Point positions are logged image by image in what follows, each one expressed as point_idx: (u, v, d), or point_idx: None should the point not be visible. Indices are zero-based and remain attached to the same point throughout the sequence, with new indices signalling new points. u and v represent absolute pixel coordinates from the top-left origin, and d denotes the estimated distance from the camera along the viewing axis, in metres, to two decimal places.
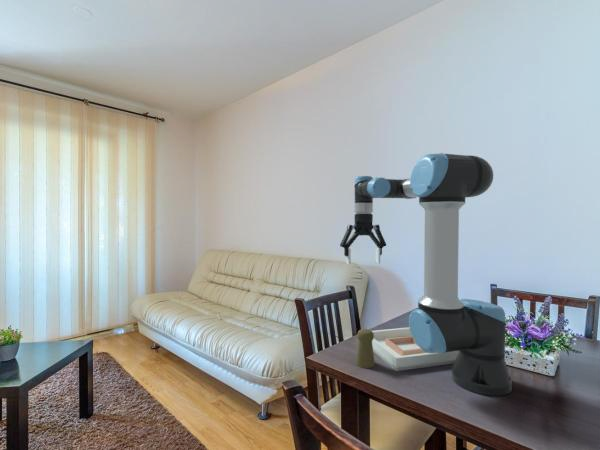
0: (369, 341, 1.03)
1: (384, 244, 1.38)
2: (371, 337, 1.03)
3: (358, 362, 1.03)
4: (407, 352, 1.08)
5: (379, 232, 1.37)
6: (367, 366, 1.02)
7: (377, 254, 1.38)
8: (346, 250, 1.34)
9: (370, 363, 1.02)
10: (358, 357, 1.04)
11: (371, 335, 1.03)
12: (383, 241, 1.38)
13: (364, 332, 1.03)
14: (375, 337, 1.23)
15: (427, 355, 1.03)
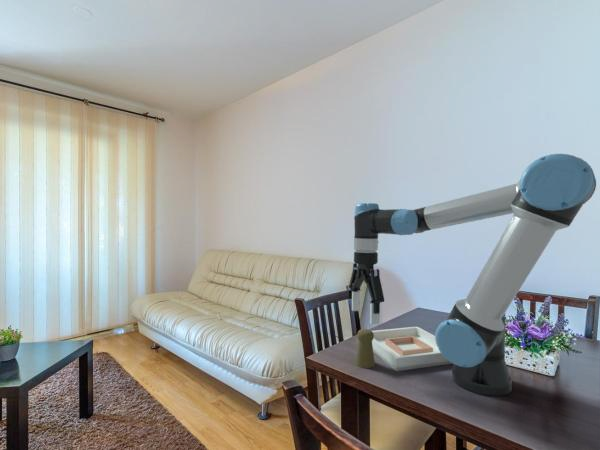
0: (369, 341, 1.03)
1: (375, 299, 0.95)
2: (371, 337, 1.03)
3: (358, 362, 1.03)
4: (407, 352, 1.08)
5: (372, 280, 0.97)
6: (367, 366, 1.02)
7: None
8: None
9: (370, 363, 1.02)
10: (358, 357, 1.04)
11: (371, 335, 1.03)
12: (374, 294, 0.96)
13: (364, 332, 1.03)
14: (375, 337, 1.23)
15: (427, 355, 1.03)
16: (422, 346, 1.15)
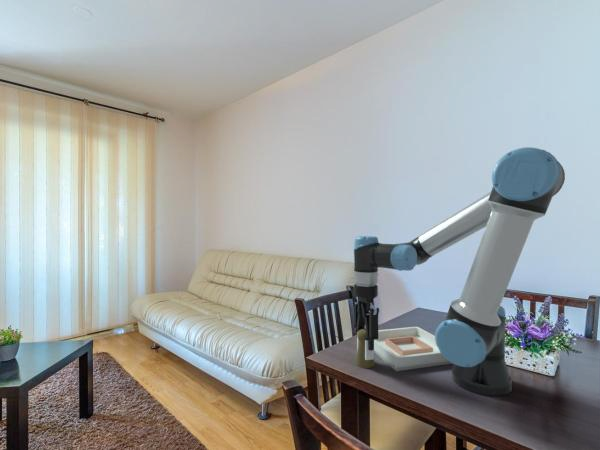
0: None
1: (369, 337, 0.99)
2: None
3: (358, 362, 1.03)
4: (407, 352, 1.08)
5: (370, 318, 0.99)
6: (367, 366, 1.02)
7: None
8: None
9: (370, 363, 1.02)
10: (358, 357, 1.04)
11: None
12: (370, 332, 0.99)
13: (364, 332, 1.03)
14: None
15: (427, 355, 1.03)
16: (422, 346, 1.15)
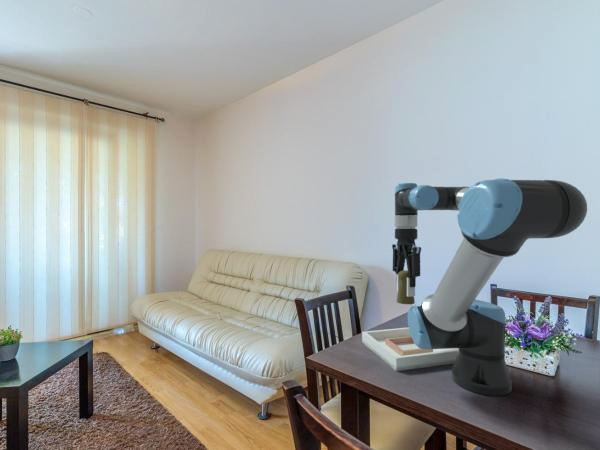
0: None
1: (412, 273, 1.07)
2: None
3: (399, 300, 1.12)
4: (407, 352, 1.08)
5: (412, 256, 1.07)
6: (408, 302, 1.10)
7: None
8: None
9: (411, 300, 1.11)
10: (399, 295, 1.12)
11: None
12: (412, 269, 1.07)
13: (405, 272, 1.11)
14: (375, 337, 1.23)
15: (427, 355, 1.03)
16: None
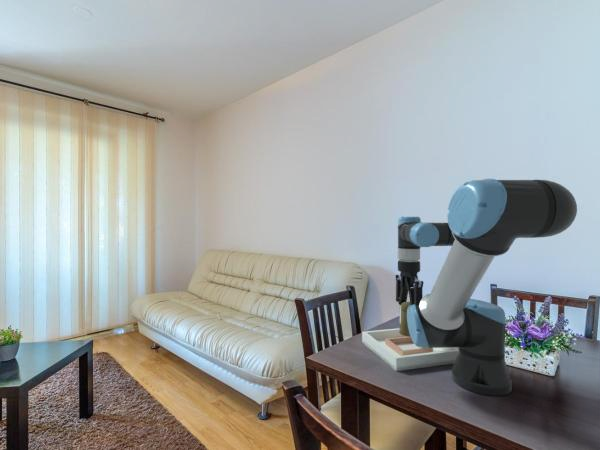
0: None
1: None
2: None
3: (402, 331, 1.13)
4: (407, 352, 1.08)
5: (415, 290, 1.08)
6: None
7: None
8: (400, 306, 1.18)
9: None
10: (402, 327, 1.13)
11: None
12: (415, 303, 1.08)
13: (408, 304, 1.12)
14: (375, 337, 1.23)
15: (427, 355, 1.03)
16: None
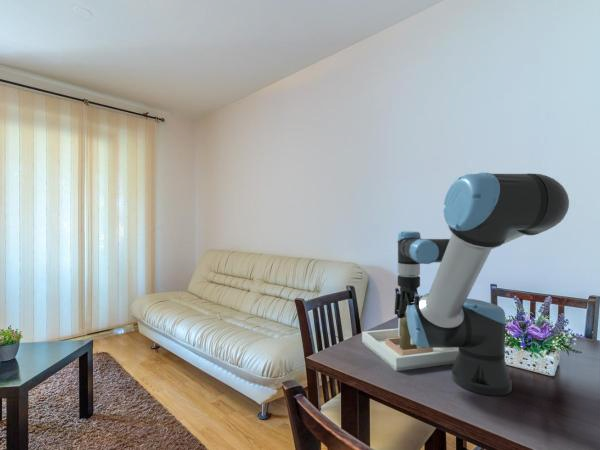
0: None
1: None
2: None
3: (402, 347, 1.13)
4: (407, 352, 1.08)
5: None
6: None
7: None
8: None
9: (414, 348, 1.12)
10: (402, 342, 1.13)
11: None
12: None
13: None
14: (375, 337, 1.23)
15: (427, 355, 1.03)
16: None
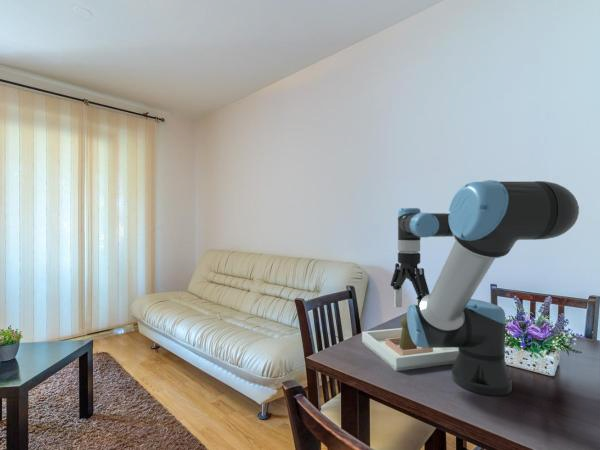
0: None
1: (422, 295, 1.05)
2: None
3: (402, 347, 1.13)
4: (407, 352, 1.08)
5: (417, 278, 1.07)
6: None
7: None
8: None
9: (414, 348, 1.12)
10: (402, 342, 1.13)
11: None
12: (421, 291, 1.05)
13: None
14: (375, 337, 1.23)
15: (427, 355, 1.03)
16: None
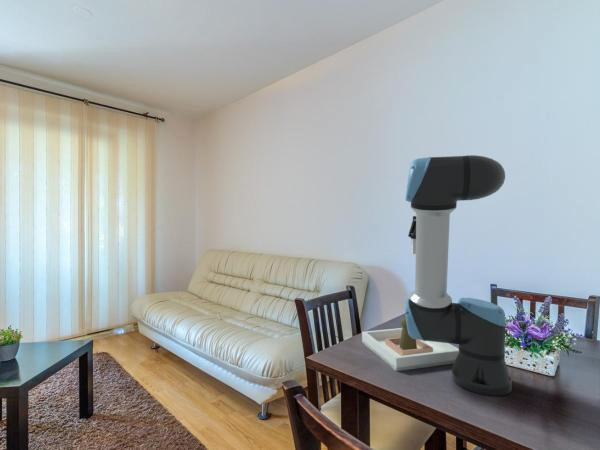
0: None
1: None
2: None
3: (402, 347, 1.13)
4: (407, 352, 1.08)
5: None
6: None
7: None
8: (412, 240, 1.41)
9: (414, 348, 1.12)
10: (402, 342, 1.13)
11: None
12: None
13: None
14: (375, 337, 1.23)
15: (427, 355, 1.03)
16: (422, 346, 1.15)
